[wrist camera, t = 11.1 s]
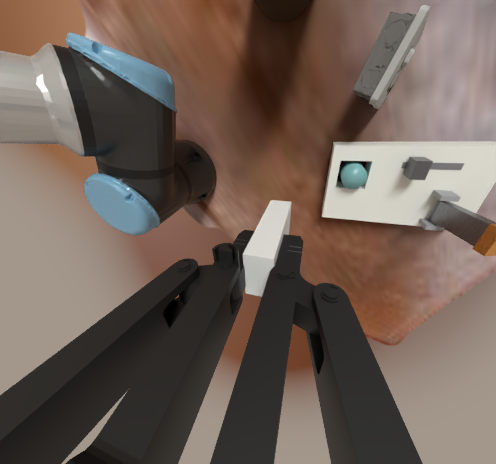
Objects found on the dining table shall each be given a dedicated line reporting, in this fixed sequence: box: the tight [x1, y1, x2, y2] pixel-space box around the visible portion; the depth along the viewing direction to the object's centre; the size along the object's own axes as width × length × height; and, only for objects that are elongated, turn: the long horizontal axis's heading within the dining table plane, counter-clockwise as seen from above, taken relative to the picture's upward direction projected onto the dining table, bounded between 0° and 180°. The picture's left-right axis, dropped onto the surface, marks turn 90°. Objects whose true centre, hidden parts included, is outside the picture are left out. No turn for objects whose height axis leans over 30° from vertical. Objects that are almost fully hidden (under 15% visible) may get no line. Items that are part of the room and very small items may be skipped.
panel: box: [322, 142, 496, 231], centre depth 35 cm, size 24×14×7 cm, turn 93°
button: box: [340, 161, 367, 189], centre depth 36 cm, size 4×4×5 cm
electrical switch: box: [353, 5, 430, 109], centre depth 27 cm, size 9×5×9 cm, turn 164°
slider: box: [403, 157, 433, 180], centre depth 31 cm, size 2×3×3 cm
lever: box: [428, 200, 496, 256], centre depth 30 cm, size 2×4×10 cm, turn 3°
